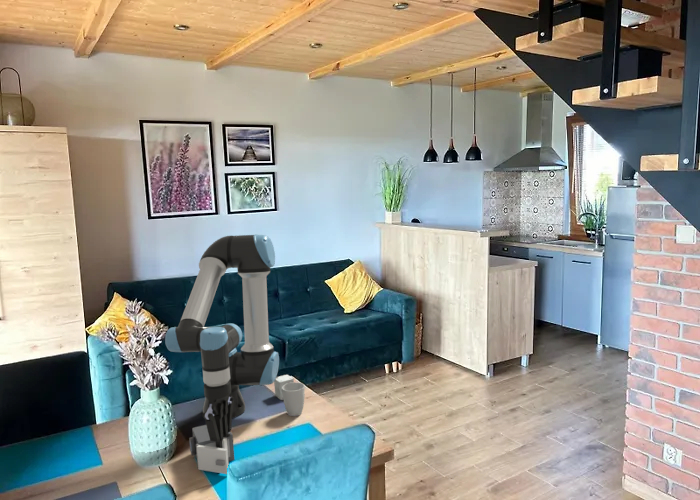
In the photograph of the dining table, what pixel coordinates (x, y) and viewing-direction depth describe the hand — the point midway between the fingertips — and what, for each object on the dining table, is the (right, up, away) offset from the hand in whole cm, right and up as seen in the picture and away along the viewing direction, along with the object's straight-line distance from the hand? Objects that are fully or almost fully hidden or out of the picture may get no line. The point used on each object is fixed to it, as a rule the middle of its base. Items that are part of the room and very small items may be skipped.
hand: (222, 459), depth 152 cm
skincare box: (+12, +4, +52) cm, 53 cm away
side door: (-2, -2, -3) cm, 4 cm away
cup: (+17, +2, +36) cm, 40 cm away
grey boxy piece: (-5, -2, +7) cm, 9 cm away
